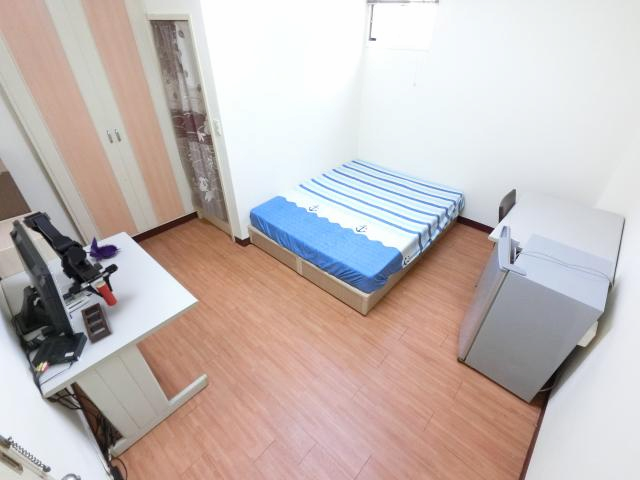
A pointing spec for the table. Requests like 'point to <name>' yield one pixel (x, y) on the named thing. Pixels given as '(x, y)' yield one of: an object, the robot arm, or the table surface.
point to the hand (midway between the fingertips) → (107, 294)
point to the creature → (102, 250)
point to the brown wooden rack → (97, 325)
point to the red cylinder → (106, 293)
